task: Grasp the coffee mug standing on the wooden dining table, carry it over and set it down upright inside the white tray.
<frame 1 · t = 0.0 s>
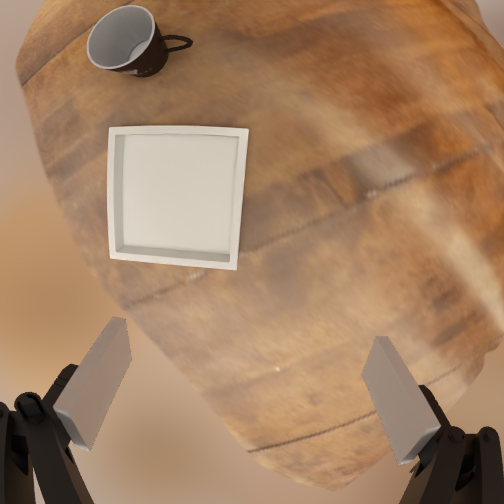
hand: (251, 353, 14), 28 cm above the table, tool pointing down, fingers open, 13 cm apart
coffee mug: (155, 61, 33), on the table
white tray: (177, 192, 39), on the table
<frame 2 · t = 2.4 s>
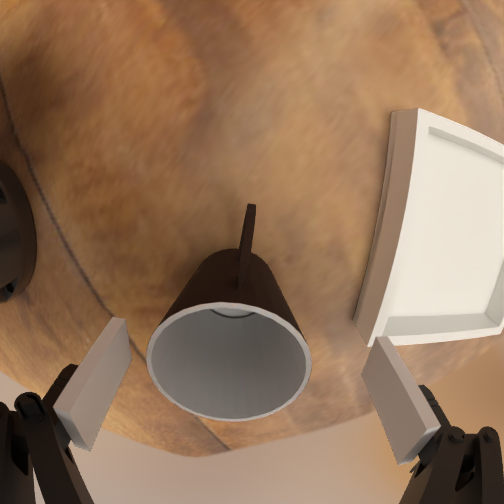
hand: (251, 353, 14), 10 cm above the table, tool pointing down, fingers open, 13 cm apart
coffee mug: (244, 271, 23), on the table
white tray: (455, 234, 22), on the table
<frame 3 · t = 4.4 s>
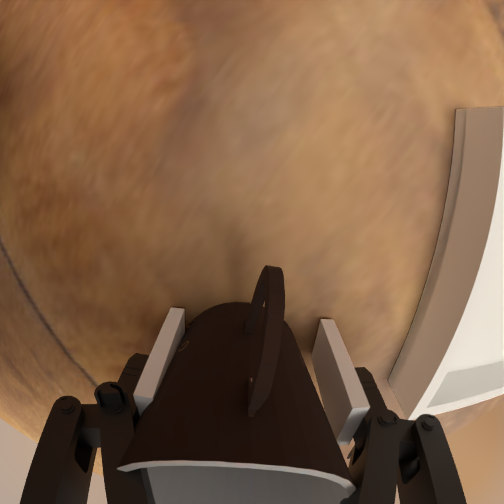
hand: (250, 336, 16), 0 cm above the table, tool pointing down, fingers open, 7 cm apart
coffee mug: (254, 330, 16), on the table, touching gripper
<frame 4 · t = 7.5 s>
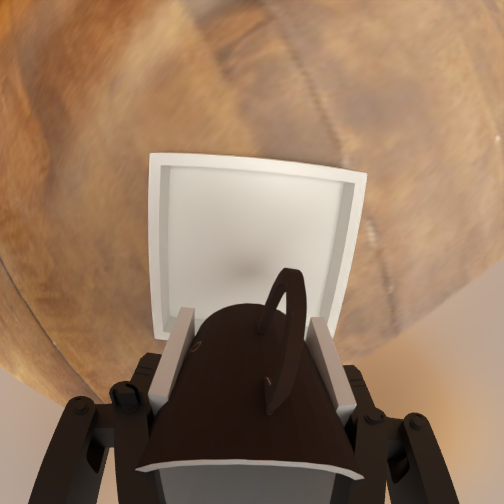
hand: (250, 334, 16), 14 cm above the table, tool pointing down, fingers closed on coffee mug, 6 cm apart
coffee mug: (264, 330, 16), point 14 cm above the table, touching gripper
white tray: (250, 249, 29), on the table
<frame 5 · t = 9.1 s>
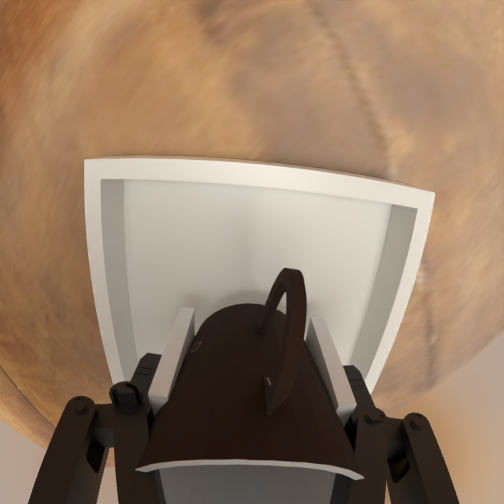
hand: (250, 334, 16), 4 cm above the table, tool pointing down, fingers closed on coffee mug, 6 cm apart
coffee mug: (264, 330, 16), point 3 cm above the table, touching gripper
white tray: (249, 301, 19), on the table
when the fingers open (2 cm above the table, at t = 10.3 s): coffee mug stays where it is, resting on white tray.
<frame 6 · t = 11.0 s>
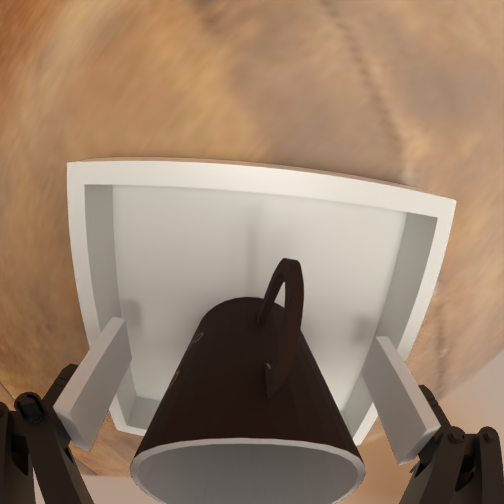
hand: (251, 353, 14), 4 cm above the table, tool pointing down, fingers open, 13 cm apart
coffee mug: (263, 324, 17), point 1 cm above the table, touching white tray
white tray: (250, 315, 18), on the table
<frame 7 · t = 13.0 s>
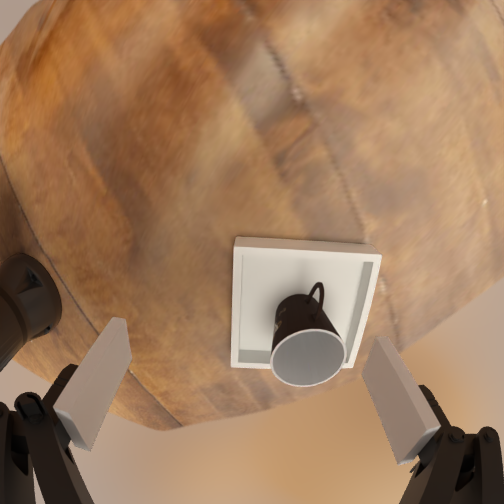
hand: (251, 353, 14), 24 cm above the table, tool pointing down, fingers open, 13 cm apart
coffee mug: (304, 305, 40), point 1 cm above the table, touching white tray
white tray: (298, 302, 40), on the table
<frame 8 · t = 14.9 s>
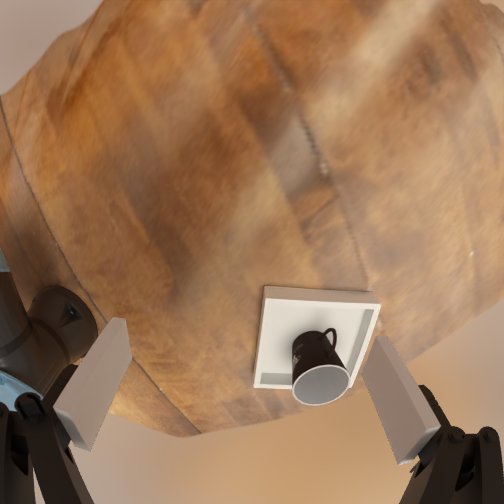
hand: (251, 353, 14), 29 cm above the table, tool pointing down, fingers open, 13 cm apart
coffee mug: (316, 339, 47), point 1 cm above the table, touching white tray
white tray: (311, 336, 48), on the table
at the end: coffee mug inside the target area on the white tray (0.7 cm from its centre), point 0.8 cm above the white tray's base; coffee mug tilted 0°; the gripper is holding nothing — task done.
